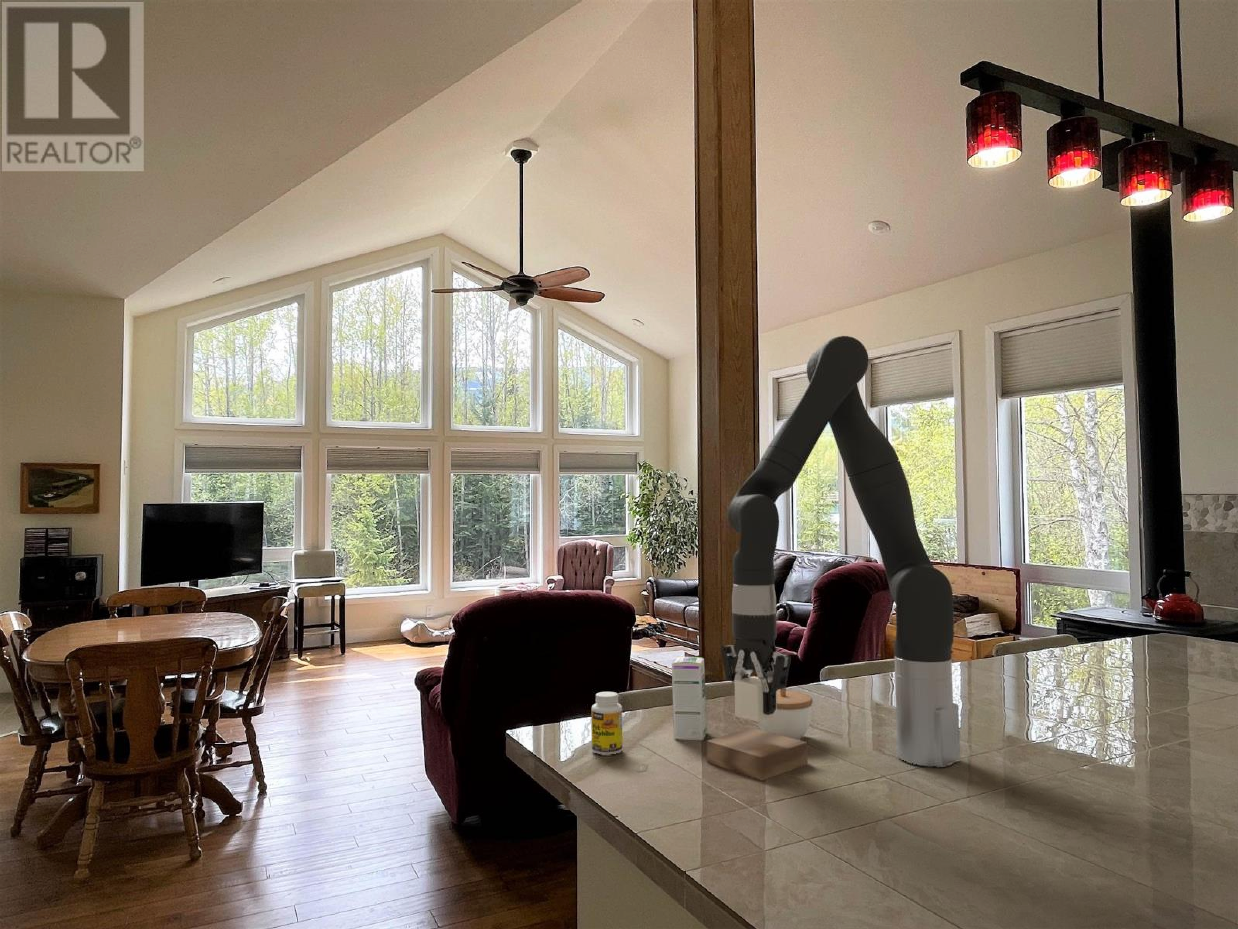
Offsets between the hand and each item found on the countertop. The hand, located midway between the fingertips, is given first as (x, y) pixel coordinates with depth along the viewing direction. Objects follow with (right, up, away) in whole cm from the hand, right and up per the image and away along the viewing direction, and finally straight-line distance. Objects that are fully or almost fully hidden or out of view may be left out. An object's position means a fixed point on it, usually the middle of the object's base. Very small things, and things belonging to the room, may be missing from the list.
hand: (755, 710), depth 134 cm
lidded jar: (+8, -10, +14) cm, 18 cm away
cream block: (0, -1, 0) cm, 1 cm away
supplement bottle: (-26, -10, +6) cm, 28 cm away
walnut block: (0, -9, -1) cm, 9 cm away
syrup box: (-10, -10, +16) cm, 21 cm away
